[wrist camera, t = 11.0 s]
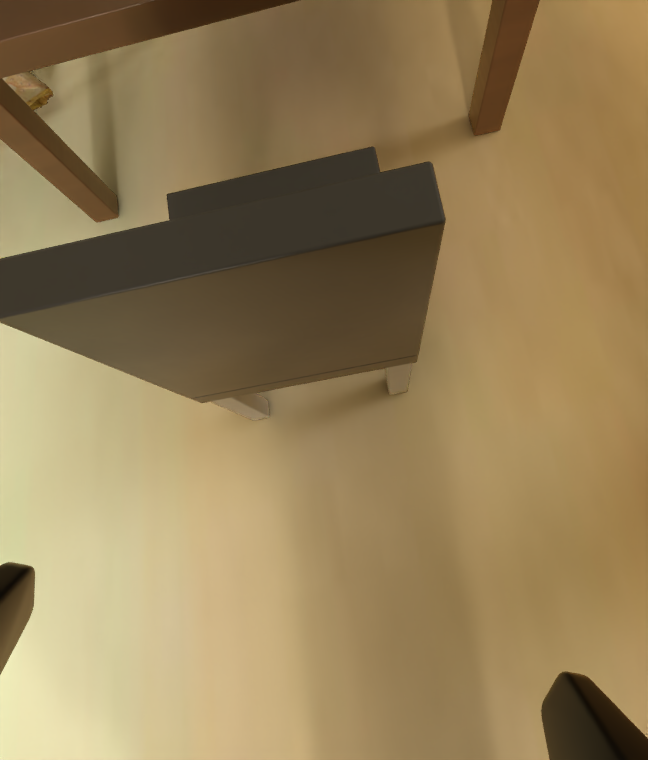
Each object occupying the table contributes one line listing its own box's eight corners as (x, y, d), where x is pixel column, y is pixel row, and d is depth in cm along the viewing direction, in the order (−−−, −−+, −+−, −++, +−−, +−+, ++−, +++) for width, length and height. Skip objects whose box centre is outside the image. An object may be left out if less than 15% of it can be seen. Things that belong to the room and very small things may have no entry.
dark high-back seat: (410, 393, 22) (446, 221, 7) (250, 423, 23) (-11, 319, 8) (379, 242, 23) (358, -154, 9) (230, 274, 24) (-23, -44, 9)
